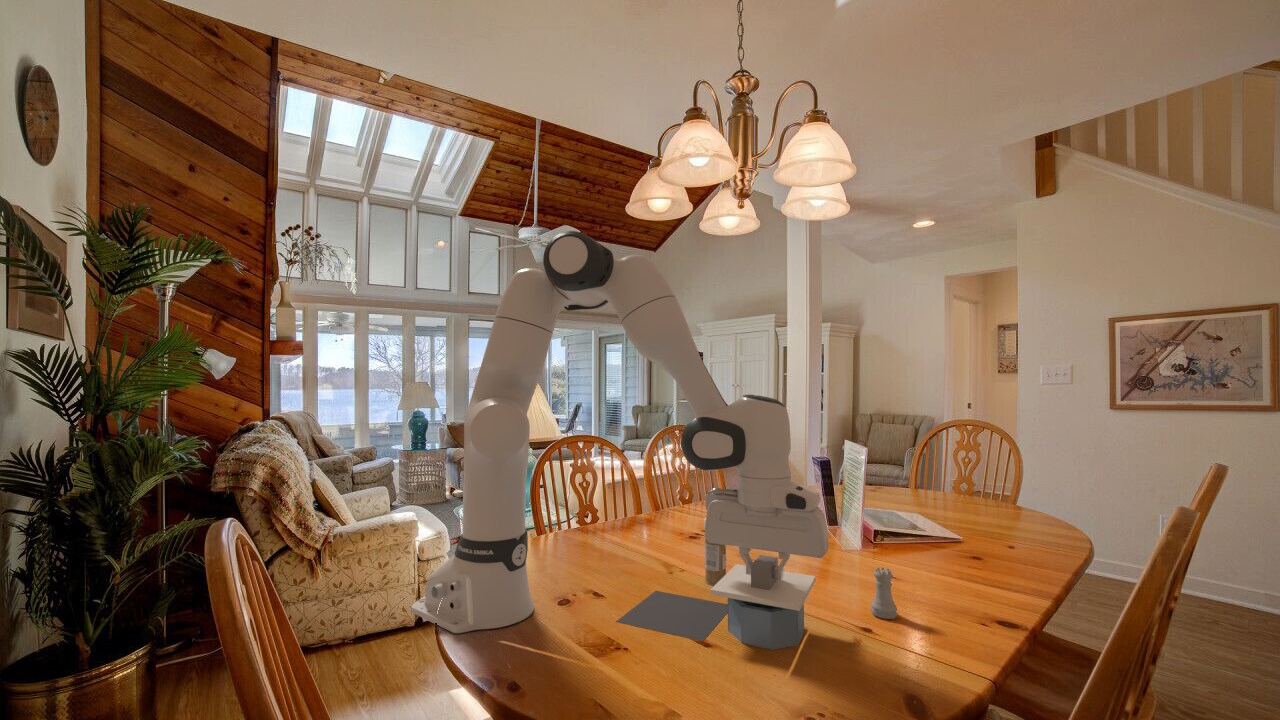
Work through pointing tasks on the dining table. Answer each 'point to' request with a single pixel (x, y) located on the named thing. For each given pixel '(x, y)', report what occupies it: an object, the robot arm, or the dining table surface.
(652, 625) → the mat
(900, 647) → the dining table surface
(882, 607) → the rook chess piece
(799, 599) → the lid
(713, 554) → the sprinkles bottle
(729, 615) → the bowl
